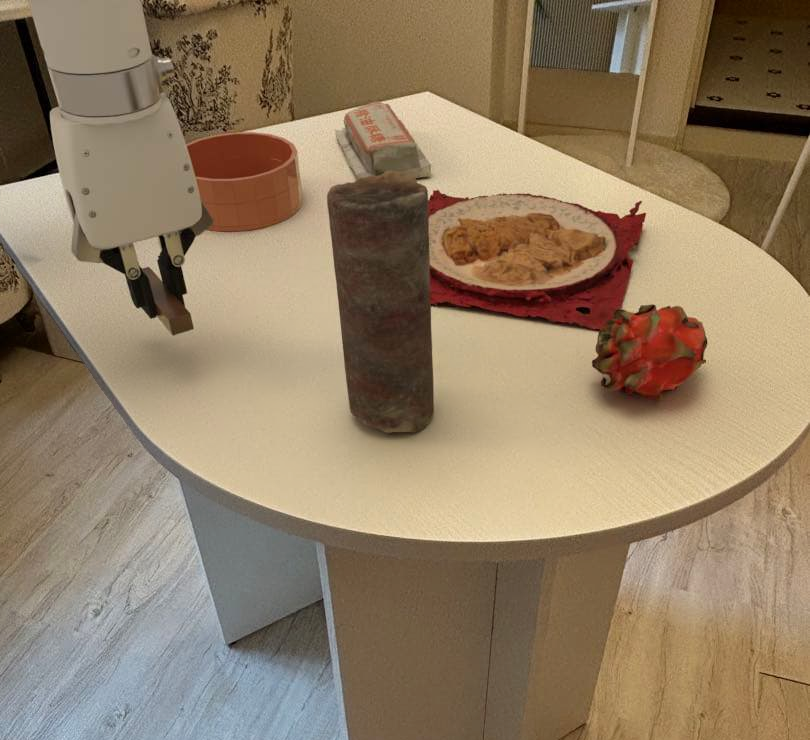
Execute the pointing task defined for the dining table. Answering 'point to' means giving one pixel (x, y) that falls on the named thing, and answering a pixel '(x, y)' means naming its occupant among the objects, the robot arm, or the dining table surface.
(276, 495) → the dining table surface
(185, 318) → the brown wooden bar
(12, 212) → the dining table surface
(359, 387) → the candle
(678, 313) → the dragon fruit
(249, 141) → the bowl
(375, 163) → the packaged product
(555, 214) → the plate with food
